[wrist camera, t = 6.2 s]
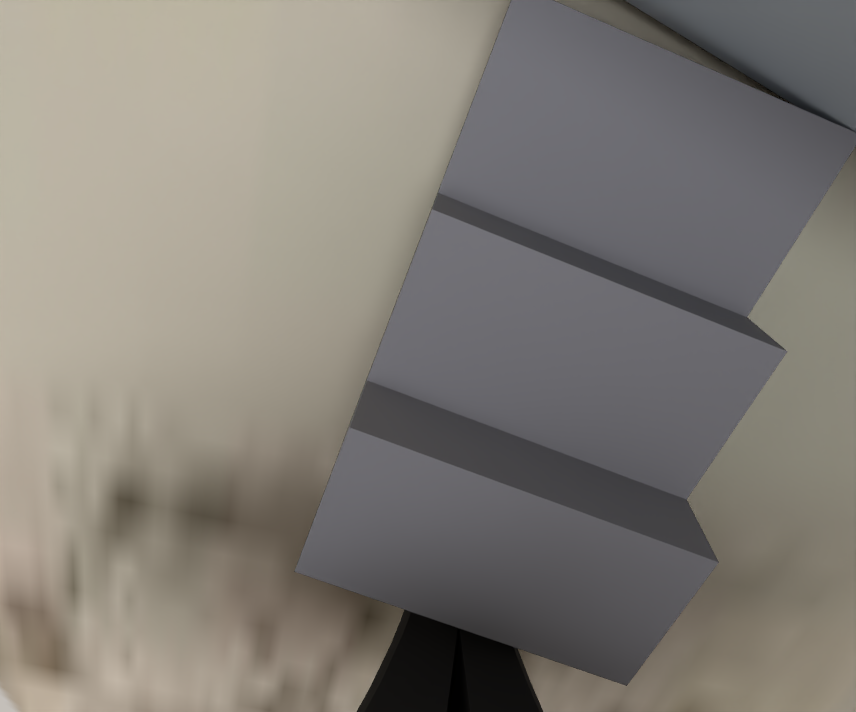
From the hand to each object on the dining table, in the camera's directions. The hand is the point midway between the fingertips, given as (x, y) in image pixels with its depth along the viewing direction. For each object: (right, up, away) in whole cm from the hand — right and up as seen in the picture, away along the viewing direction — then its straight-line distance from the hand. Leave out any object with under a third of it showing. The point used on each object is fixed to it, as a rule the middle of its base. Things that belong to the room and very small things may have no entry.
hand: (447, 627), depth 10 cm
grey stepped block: (+2, +5, 0) cm, 6 cm away
